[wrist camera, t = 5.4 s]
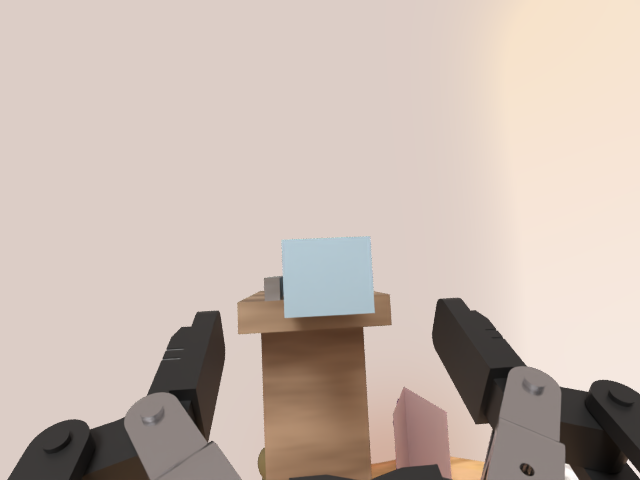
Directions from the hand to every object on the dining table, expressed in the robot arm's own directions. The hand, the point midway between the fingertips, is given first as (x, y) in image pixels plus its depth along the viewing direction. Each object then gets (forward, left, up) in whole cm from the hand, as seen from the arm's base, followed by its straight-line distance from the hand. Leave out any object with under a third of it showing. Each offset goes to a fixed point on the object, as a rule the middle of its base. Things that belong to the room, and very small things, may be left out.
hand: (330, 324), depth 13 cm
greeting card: (-31, -29, -32) cm, 53 cm away
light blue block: (-5, -11, 0) cm, 13 cm away
